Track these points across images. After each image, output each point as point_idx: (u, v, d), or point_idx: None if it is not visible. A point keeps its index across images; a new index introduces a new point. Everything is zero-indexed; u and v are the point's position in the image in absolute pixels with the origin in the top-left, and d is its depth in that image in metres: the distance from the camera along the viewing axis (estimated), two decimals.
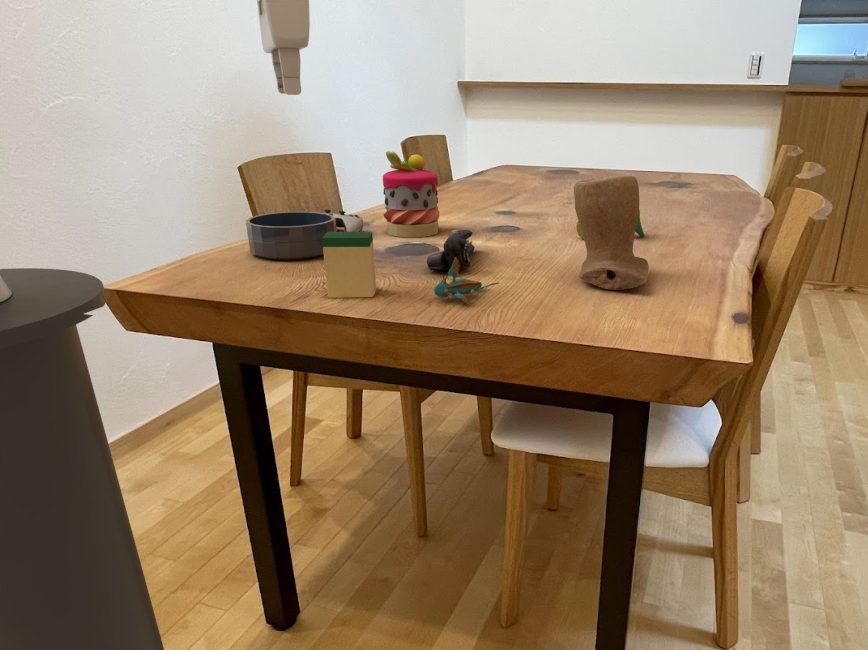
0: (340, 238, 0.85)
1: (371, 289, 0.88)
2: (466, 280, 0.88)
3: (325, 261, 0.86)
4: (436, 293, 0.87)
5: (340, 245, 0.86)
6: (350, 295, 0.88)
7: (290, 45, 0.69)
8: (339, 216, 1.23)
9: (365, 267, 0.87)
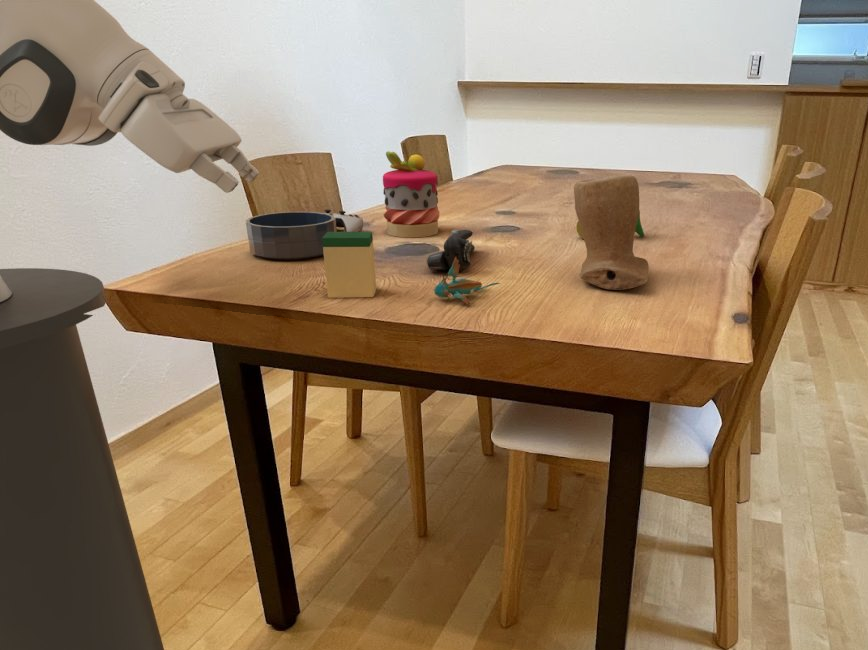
0: (340, 238, 0.85)
1: (371, 289, 0.88)
2: (466, 280, 0.88)
3: (325, 261, 0.86)
4: (436, 293, 0.87)
5: (340, 245, 0.86)
6: (350, 295, 0.88)
7: (184, 163, 0.73)
8: (339, 216, 1.23)
9: (365, 267, 0.87)
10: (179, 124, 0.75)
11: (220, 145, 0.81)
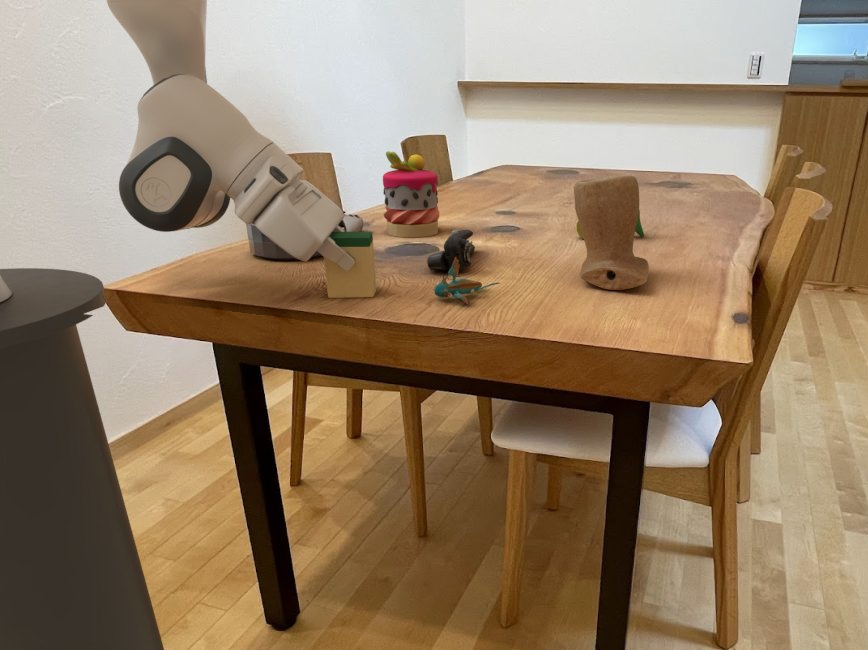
0: (340, 238, 0.85)
1: (371, 289, 0.88)
2: (466, 280, 0.88)
3: (325, 261, 0.86)
4: (436, 293, 0.87)
5: (340, 245, 0.86)
6: (350, 295, 0.88)
7: (312, 253, 0.78)
8: None
9: (365, 267, 0.87)
10: (305, 214, 0.80)
11: (334, 228, 0.86)
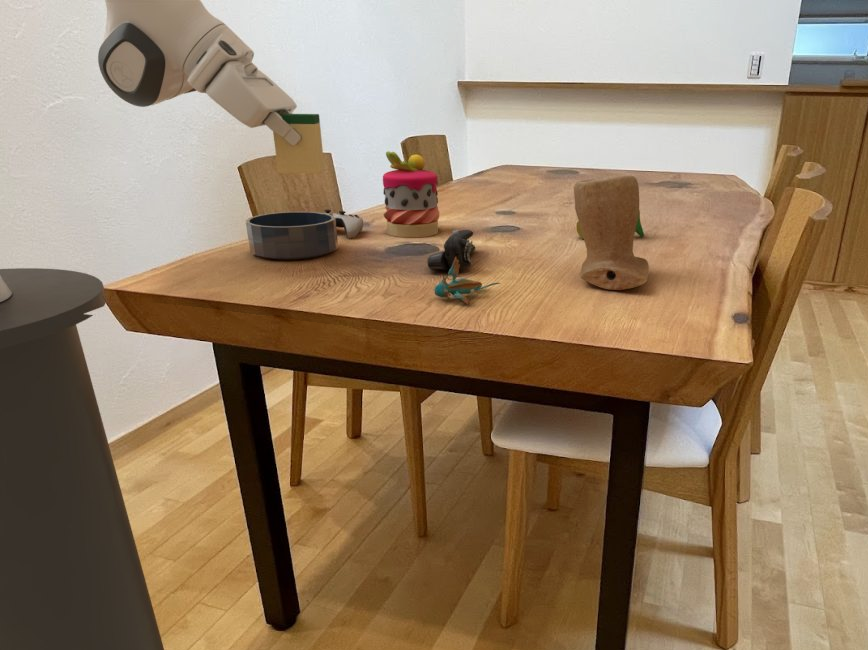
0: (287, 115, 0.94)
1: (317, 165, 0.97)
2: (466, 279, 0.88)
3: (274, 137, 0.95)
4: (436, 293, 0.87)
5: (288, 122, 0.94)
6: (298, 171, 0.97)
7: (257, 119, 0.87)
8: (339, 216, 1.23)
9: (311, 143, 0.96)
10: (252, 87, 0.89)
11: (282, 107, 0.95)
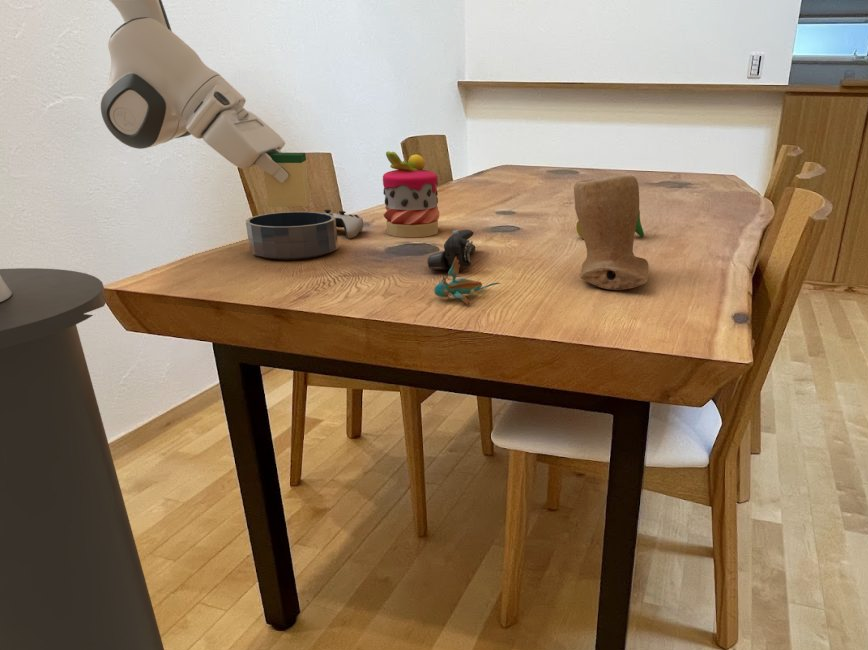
0: (276, 155, 1.04)
1: (304, 199, 1.07)
2: (466, 279, 0.88)
3: (265, 175, 1.05)
4: (436, 293, 0.87)
5: (277, 161, 1.04)
6: (287, 204, 1.07)
7: (249, 162, 0.97)
8: (339, 216, 1.23)
9: (298, 180, 1.06)
10: (244, 132, 0.99)
11: (272, 148, 1.05)
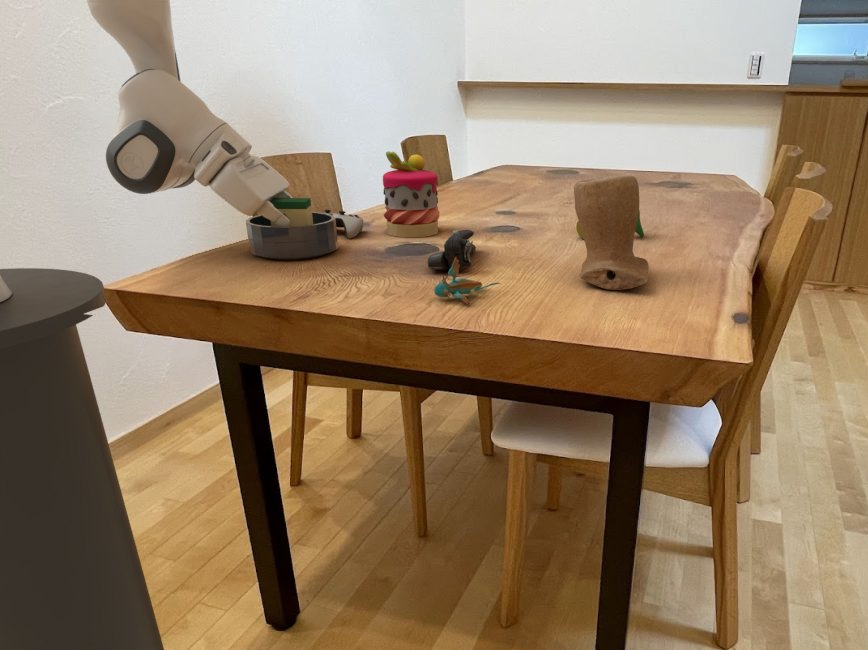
0: (282, 202, 1.07)
1: None
2: (466, 279, 0.88)
3: None
4: (436, 293, 0.87)
5: (283, 207, 1.07)
6: None
7: (255, 209, 1.00)
8: (339, 216, 1.23)
9: (303, 225, 1.09)
10: (250, 179, 1.02)
11: (277, 192, 1.08)
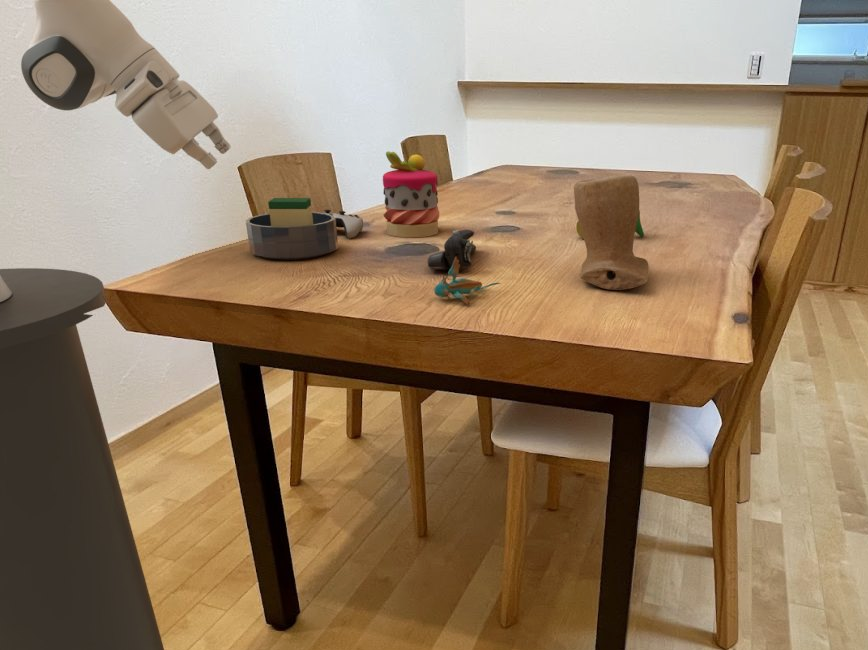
0: (282, 202, 1.07)
1: None
2: (467, 279, 0.88)
3: (271, 220, 1.08)
4: (436, 293, 0.87)
5: (283, 207, 1.07)
6: None
7: (179, 148, 0.98)
8: (339, 216, 1.23)
9: (303, 225, 1.09)
10: (176, 115, 0.99)
11: (204, 127, 1.06)
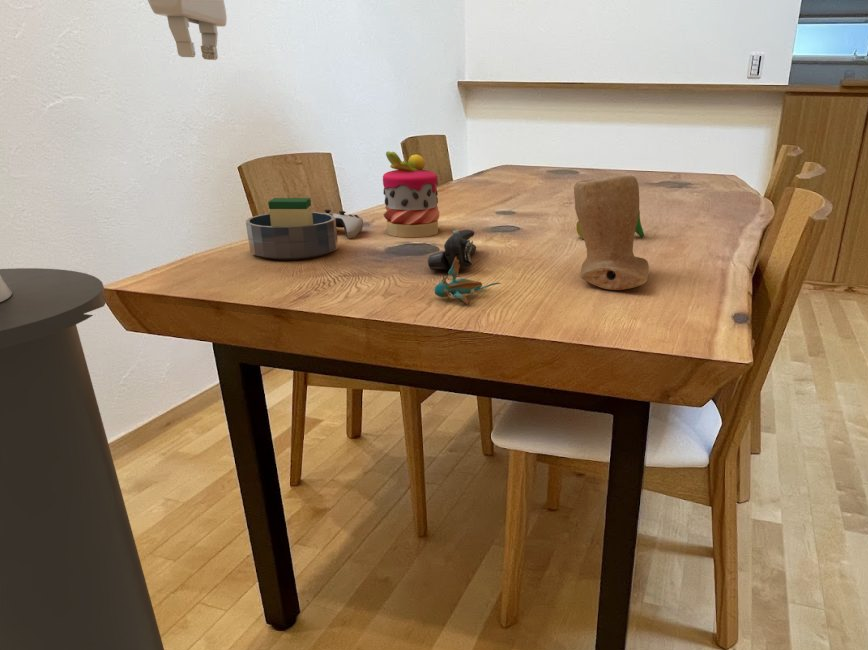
0: (282, 202, 1.07)
1: None
2: (467, 279, 0.88)
3: (271, 220, 1.08)
4: (436, 293, 0.87)
5: (283, 207, 1.07)
6: None
7: (165, 12, 0.82)
8: (339, 216, 1.23)
9: (303, 225, 1.09)
10: None
11: (204, 20, 0.91)
